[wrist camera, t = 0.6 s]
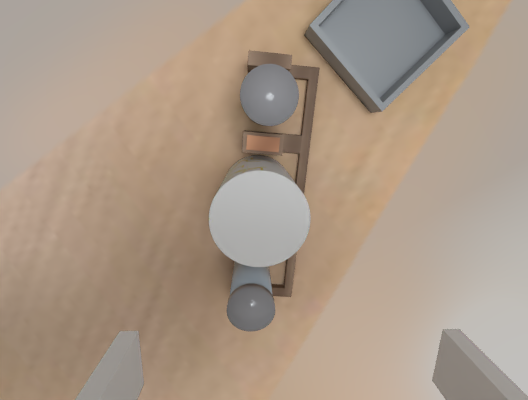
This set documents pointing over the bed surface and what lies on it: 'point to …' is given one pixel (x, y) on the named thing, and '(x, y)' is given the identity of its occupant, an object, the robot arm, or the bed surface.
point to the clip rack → (286, 137)
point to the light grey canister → (259, 213)
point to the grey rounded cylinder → (269, 94)
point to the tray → (384, 43)
